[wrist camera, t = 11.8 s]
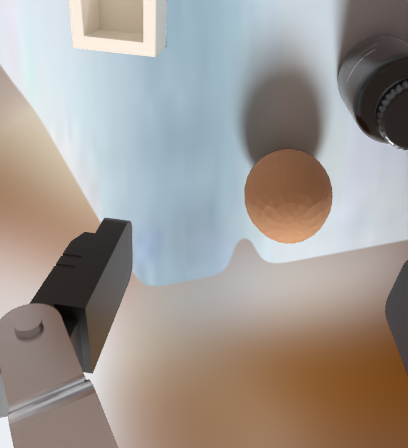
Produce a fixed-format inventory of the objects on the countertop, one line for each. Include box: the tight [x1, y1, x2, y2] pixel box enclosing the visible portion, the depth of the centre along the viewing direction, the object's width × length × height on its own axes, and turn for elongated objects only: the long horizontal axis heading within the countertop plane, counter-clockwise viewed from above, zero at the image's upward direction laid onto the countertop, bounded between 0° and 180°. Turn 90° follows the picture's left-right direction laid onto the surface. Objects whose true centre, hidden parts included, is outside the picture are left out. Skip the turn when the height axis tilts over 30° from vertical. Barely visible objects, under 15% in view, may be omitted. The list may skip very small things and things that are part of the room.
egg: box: [245, 149, 332, 243], centre depth 38 cm, size 8×8×11 cm
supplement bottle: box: [338, 36, 408, 150], centre depth 31 cm, size 7×7×12 cm
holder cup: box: [69, 0, 168, 57], centre depth 33 cm, size 7×7×5 cm
